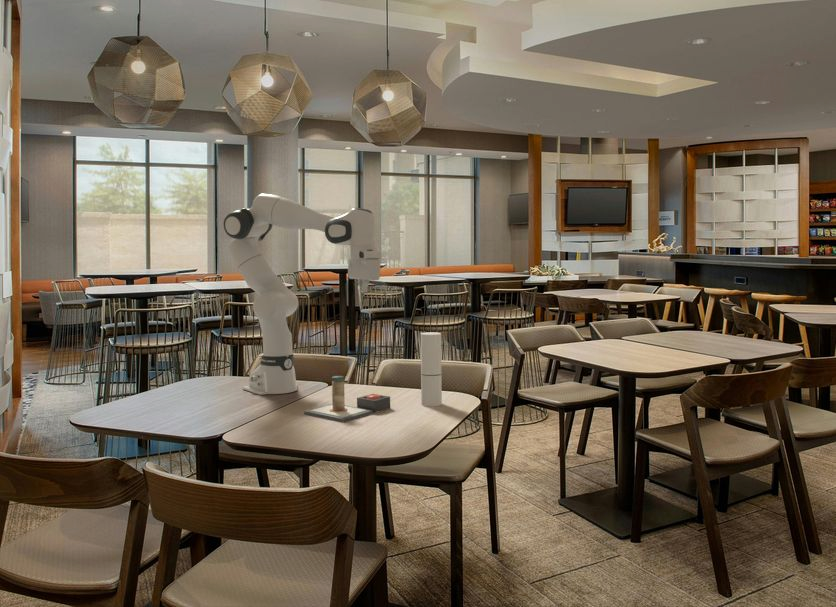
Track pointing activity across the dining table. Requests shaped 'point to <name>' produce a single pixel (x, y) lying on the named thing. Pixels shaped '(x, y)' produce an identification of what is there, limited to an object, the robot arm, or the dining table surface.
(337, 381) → the marker
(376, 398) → the button
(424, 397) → the cylindrical container
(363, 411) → the grey tray
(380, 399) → the button housing
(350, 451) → the dining table surface
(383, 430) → the dining table surface
